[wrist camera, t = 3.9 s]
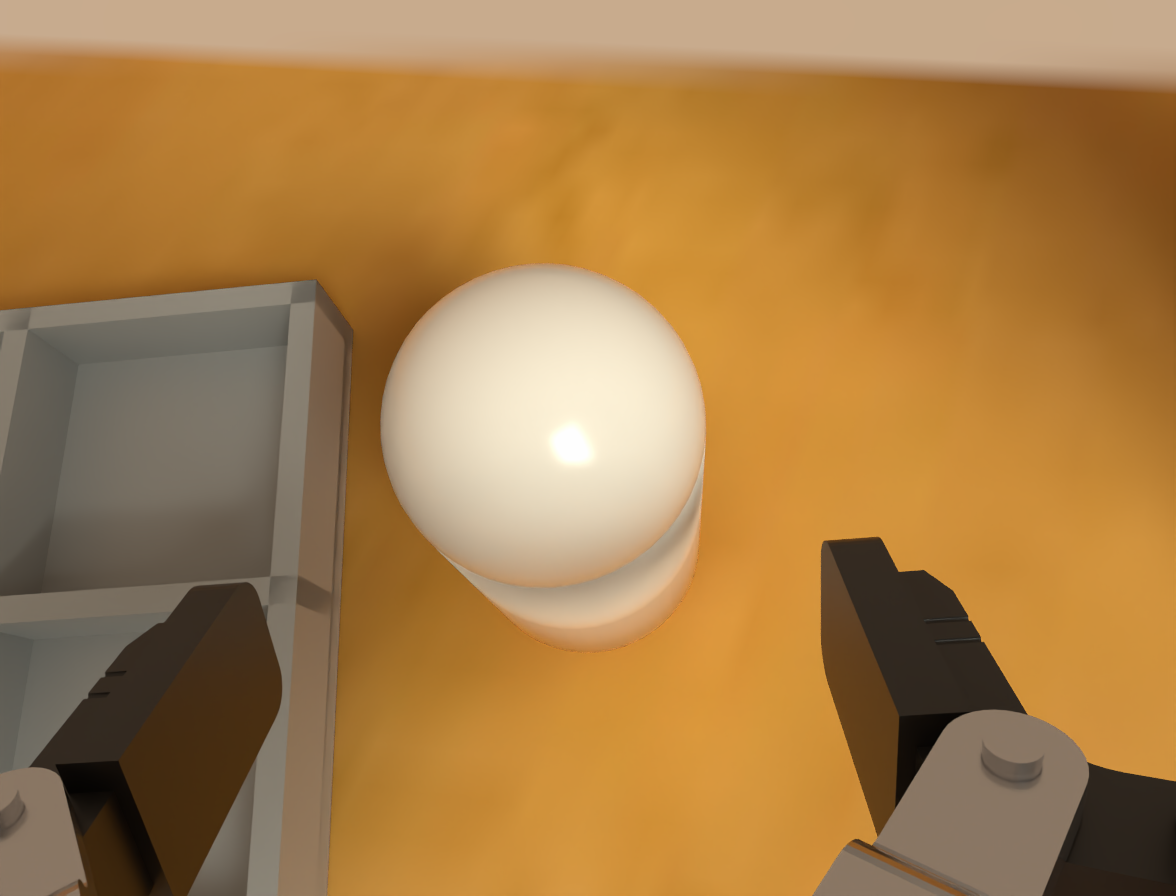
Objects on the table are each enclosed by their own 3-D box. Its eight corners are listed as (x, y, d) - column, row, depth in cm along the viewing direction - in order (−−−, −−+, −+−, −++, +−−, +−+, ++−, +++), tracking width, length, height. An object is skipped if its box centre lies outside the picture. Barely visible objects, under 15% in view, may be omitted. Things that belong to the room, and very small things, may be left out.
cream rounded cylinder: (688, 430, 22) (692, 177, 13) (709, 644, 21) (730, 526, 11) (480, 448, 23) (339, 213, 14) (482, 659, 21) (321, 556, 12)
